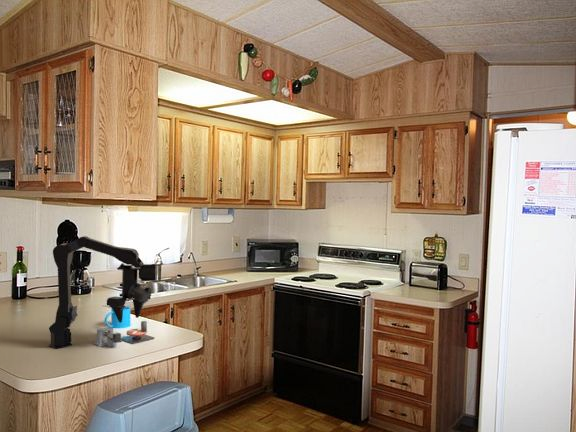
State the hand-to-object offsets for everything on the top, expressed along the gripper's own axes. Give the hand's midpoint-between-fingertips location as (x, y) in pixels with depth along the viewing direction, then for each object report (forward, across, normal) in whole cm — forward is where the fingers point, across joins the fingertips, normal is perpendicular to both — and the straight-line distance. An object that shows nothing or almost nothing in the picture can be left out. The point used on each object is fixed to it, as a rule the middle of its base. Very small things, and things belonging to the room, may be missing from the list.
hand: (128, 320), depth 193 cm
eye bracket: (+10, -4, +7) cm, 12 cm away
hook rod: (+7, -5, +6) cm, 10 cm away
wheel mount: (+9, +6, +1) cm, 11 cm away
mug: (+10, +17, +23) cm, 30 cm away
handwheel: (+8, +6, +1) cm, 10 cm away
